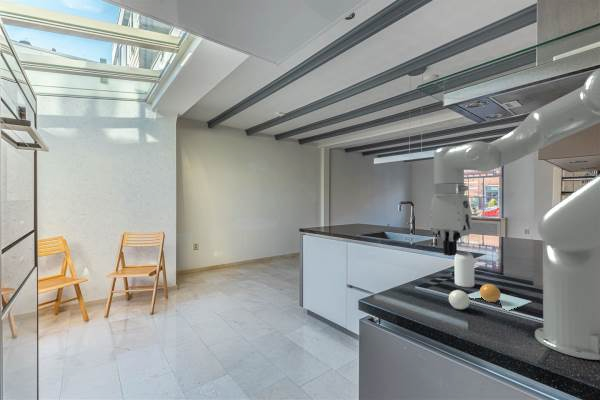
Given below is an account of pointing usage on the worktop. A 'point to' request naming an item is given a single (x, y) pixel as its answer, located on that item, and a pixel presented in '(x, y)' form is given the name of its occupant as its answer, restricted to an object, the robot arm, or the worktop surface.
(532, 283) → the worktop surface
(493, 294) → the object ball
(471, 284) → the can
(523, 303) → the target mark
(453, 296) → the cue ball
